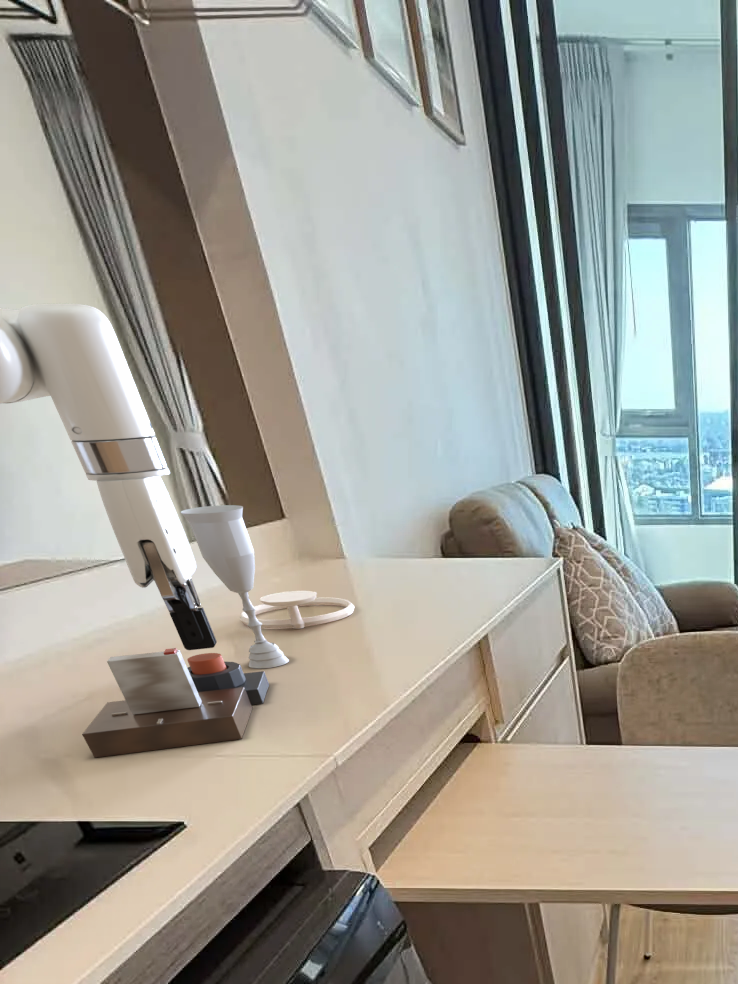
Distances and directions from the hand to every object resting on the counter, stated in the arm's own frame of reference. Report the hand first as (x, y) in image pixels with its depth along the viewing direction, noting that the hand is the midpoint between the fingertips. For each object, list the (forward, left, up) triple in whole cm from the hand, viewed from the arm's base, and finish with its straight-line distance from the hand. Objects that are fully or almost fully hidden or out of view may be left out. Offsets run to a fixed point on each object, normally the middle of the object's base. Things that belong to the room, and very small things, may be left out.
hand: (201, 646), depth 99 cm
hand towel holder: (+6, +41, -6) cm, 42 cm away
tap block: (-3, -11, -6) cm, 13 cm away
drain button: (0, 0, -3) cm, 3 cm away
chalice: (+4, +15, -6) cm, 17 cm away
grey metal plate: (-3, -11, -3) cm, 12 cm away
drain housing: (0, 0, -6) cm, 6 cm away
